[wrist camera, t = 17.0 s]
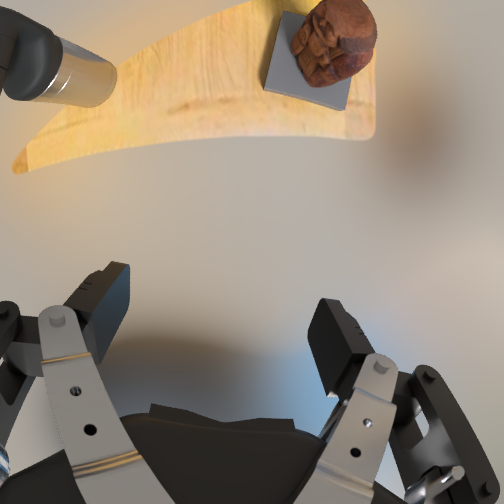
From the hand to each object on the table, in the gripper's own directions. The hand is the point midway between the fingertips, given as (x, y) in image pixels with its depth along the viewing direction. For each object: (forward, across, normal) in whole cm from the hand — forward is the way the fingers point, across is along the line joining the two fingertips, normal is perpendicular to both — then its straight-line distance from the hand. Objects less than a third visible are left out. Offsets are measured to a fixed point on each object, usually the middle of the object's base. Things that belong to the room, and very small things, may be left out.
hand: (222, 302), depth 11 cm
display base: (+36, -8, -23) cm, 43 cm away
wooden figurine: (+33, -8, -23) cm, 41 cm away
